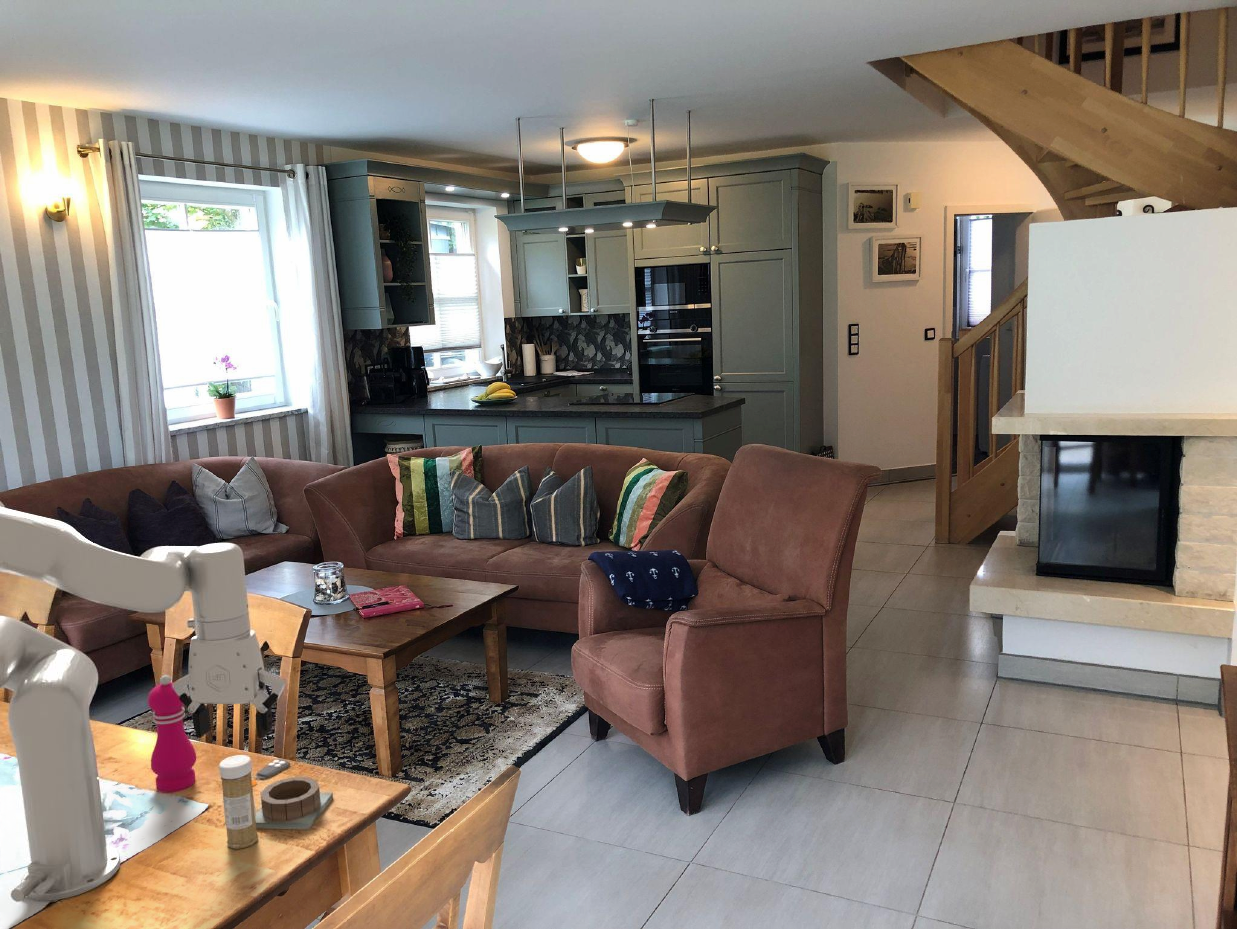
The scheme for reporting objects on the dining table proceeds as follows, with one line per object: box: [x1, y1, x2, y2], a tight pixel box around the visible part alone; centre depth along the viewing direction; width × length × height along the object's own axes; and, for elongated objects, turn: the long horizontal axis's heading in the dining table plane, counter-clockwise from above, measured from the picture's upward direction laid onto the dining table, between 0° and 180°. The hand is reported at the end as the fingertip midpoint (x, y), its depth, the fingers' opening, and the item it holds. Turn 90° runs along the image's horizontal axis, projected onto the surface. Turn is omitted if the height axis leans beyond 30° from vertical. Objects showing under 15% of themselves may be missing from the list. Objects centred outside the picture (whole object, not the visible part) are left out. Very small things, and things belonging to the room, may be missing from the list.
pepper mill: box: [147, 674, 197, 793], centre depth 165 cm, size 7×7×20 cm
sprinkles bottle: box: [218, 754, 259, 850], centre depth 146 cm, size 5×5×14 cm
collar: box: [255, 776, 334, 830], centre depth 155 cm, size 10×10×4 cm
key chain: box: [251, 758, 291, 788], centre depth 167 cm, size 13×4×2 cm, turn 157°
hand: (234, 734), depth 144 cm, fingers open, 9 cm apart
